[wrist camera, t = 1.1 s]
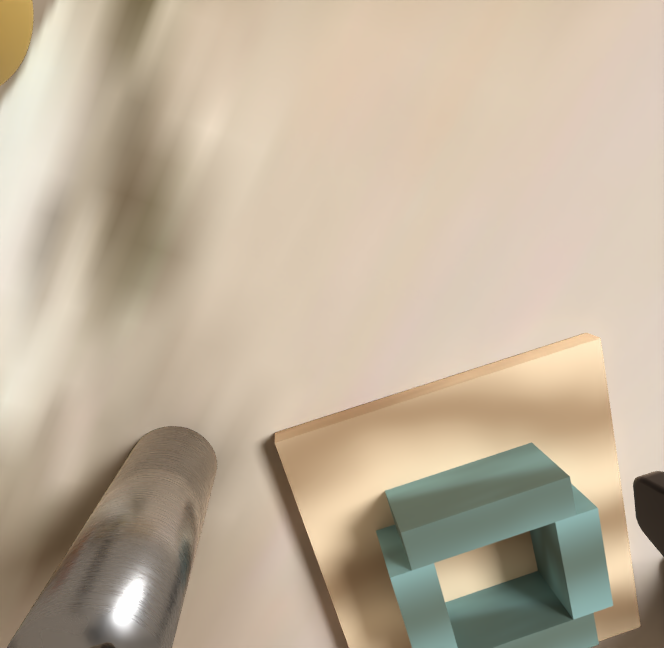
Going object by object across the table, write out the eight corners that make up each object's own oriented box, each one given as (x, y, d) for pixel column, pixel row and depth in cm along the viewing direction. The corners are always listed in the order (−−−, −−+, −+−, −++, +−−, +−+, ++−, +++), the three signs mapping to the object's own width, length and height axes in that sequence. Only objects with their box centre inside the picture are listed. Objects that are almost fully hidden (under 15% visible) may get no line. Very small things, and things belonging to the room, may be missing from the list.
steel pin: (228, 487, 22) (187, 701, 12) (149, 512, 22) (43, 750, 12) (199, 415, 21) (129, 587, 11) (116, 441, 21) (-29, 639, 11)
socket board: (627, 612, 27) (686, 679, 23) (371, 701, 26) (387, 785, 22) (586, 332, 22) (651, 357, 18) (274, 432, 21) (273, 480, 18)
